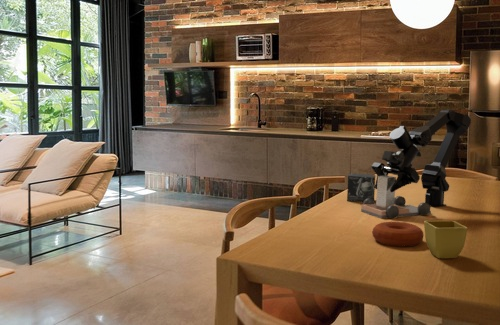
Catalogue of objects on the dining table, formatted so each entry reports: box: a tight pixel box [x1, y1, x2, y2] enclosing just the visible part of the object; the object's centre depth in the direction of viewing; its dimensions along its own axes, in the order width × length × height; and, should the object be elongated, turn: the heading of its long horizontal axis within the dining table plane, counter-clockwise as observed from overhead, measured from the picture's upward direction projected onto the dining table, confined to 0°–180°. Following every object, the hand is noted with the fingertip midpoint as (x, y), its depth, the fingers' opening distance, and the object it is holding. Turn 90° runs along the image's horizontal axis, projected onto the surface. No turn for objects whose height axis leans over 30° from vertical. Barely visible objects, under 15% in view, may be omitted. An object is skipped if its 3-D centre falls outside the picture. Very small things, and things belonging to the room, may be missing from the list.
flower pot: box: [423, 220, 468, 259], centre depth 155 cm, size 9×9×9 cm
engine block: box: [375, 175, 397, 211], centre depth 206 cm, size 4×4×12 cm
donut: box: [371, 221, 425, 248], centre depth 170 cm, size 15×15×5 cm
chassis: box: [360, 195, 432, 220], centre depth 209 cm, size 22×15×4 cm
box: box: [346, 173, 377, 203], centre depth 230 cm, size 11×7×10 cm, turn 75°
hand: (383, 189), depth 205 cm, fingers open, 7 cm apart
